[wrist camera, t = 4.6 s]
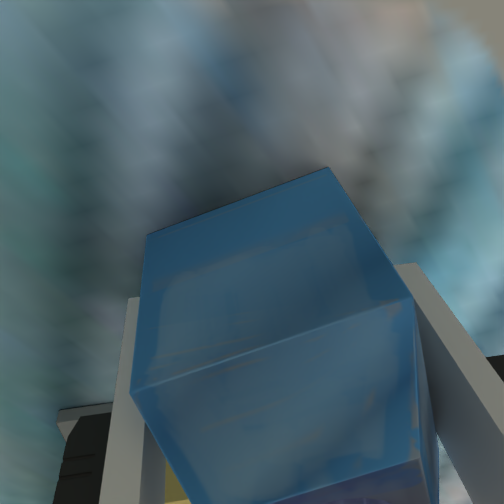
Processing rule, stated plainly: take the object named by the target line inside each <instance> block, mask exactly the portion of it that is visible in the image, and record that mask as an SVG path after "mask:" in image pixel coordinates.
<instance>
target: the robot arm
mask: <svg viewBox="0 0 504 504" xmlns="http://www.w3.org/2000/svg"><path fill="white" fill-rule="evenodd" d="M393 266H394V268H395V269H396V271H397V272H398V274H399V275H400V277H401V278H402V280H403V281H404V283H405V284H406V286H407V287H408V289H409V290H410V292H411V294H412V295H413V298H414V304H415V310H416V316H417V322H418V328H419V334H420V340H421V346H422V352H423V358H424V364H425V370H426V376H427V382H428V387H429V393H430V399H431V405H432V411H433V417H434V423H435V429H436V432H437V434H438V436H439V438H440V440H441V442H442V444H443V446H444V448H445V450H446V452H447V454H448V456H449V458H450V459H451V461H452V463H453V465H454V467H455V469H456V471H457V473H458V475H459V477H460V479H461V481H462V483H463V484H464V486H465V488H466V490H467V492H468V494H469V496H470V498H471V500H472V502H473V504H504V355H499V356H492V357H485V356H484V355H483V354H482V352H481V351H480V349H479V348H478V347H477V345H476V344H475V343H474V341H473V340H472V338H471V337H470V336H469V334H468V333H467V332H466V330H465V329H464V327H463V326H462V325H461V323H460V322H459V321H458V319H457V318H456V317H455V315H454V314H453V312H452V311H451V310H450V308H449V307H448V306H447V304H446V303H445V301H444V300H443V299H442V297H441V296H440V295H439V293H438V292H437V290H436V289H435V288H434V286H433V285H432V284H431V282H430V281H429V280H428V278H427V277H426V275H425V274H424V273H423V271H422V270H421V269H420V267H419V266H418V264H417V263H408V264H400V265H393ZM139 300H140V297H133V298H128V304H127V311H126V318H125V325H124V331H123V338H122V345H121V352H120V359H119V366H118V373H117V380H116V387H115V394H114V401H113V408H112V412H108V413H101V414H94V415H87V416H81V417H80V418H79V420H78V421H77V423H76V424H75V426H74V428H73V429H72V431H71V432H70V434H69V435H68V438H67V442H66V447H65V451H64V456H63V463H62V464H61V469H60V473H59V481H58V482H57V487H56V491H55V496H54V500H53V504H165V472H166V458H165V456H164V454H163V453H162V451H161V449H160V447H159V446H158V444H157V442H156V440H155V438H154V437H153V435H152V433H151V431H150V430H149V428H148V426H147V424H146V422H145V421H144V419H143V417H142V415H141V414H140V412H139V410H138V408H137V406H136V405H135V403H134V401H133V399H132V398H131V396H130V394H129V390H130V381H131V372H132V363H133V354H134V345H135V336H136V327H137V318H138V309H139Z"/></svg>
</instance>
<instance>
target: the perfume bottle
mask: <svg viewBox="0 0 504 504" xmlns="http://www.w3.org/2000/svg"><path fill="white" fill-rule="evenodd" d="M129 394H130V396H131V398H132V399H133V401H134V403H135V405H136V406H137V408H138V410H139V412H140V414H141V415H142V417H143V419H144V421H145V422H146V424H147V426H148V428H149V430H150V431H151V433H152V435H153V437H154V438H155V440H156V442H157V444H158V446H159V447H160V449H161V451H162V453H163V454H164V456H165V458H166V460H167V462H168V463H169V465H170V467H171V469H172V470H173V472H174V474H175V476H176V478H177V479H178V481H179V483H180V485H181V486H182V488H183V490H184V492H185V494H186V495H187V497H188V499H189V501H190V502H191V504H439V447H438V441H437V435H436V429H435V423H434V417H433V411H432V405H431V399H430V393H429V387H428V382H427V376H426V370H425V364H424V358H423V352H422V346H421V340H420V334H419V328H418V322H417V316H416V310H415V304H414V298H413V295H412V294H411V292H410V290H409V289H408V287H407V286H406V284H405V283H404V281H403V280H402V278H401V277H400V275H399V274H398V272H397V271H396V269H395V268H394V266H393V264H392V263H391V261H390V260H389V258H388V257H387V255H386V254H385V252H384V251H383V249H382V248H381V246H380V245H379V243H378V242H377V240H376V239H375V237H374V235H373V234H372V232H371V231H370V229H369V228H368V226H367V225H366V223H365V222H364V220H363V219H362V217H361V216H360V214H359V213H358V211H357V209H356V208H355V206H354V205H353V203H352V202H351V200H350V199H349V197H348V196H347V194H346V193H345V191H344V190H343V188H342V187H341V185H340V184H339V182H338V180H337V179H336V177H335V176H334V174H333V173H332V171H331V170H330V168H329V167H327V168H324V169H322V170H319V171H316V172H314V173H311V174H308V175H306V176H303V177H300V178H298V179H295V180H292V181H290V182H287V183H284V184H282V185H279V186H276V187H274V188H271V189H268V190H266V191H263V192H260V193H258V194H255V195H252V196H250V197H247V198H244V199H242V200H239V201H236V202H234V203H231V204H228V205H226V206H223V207H220V208H218V209H215V210H212V211H210V212H207V213H204V214H202V215H199V216H196V217H194V218H191V219H188V220H186V221H183V222H180V223H178V224H175V225H172V226H170V227H167V228H164V229H162V230H159V231H156V232H154V233H151V234H148V235H147V238H146V247H145V256H144V265H143V274H142V282H141V291H140V300H139V309H138V318H137V327H136V336H135V345H134V354H133V363H132V372H131V381H130V390H129Z"/></svg>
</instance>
